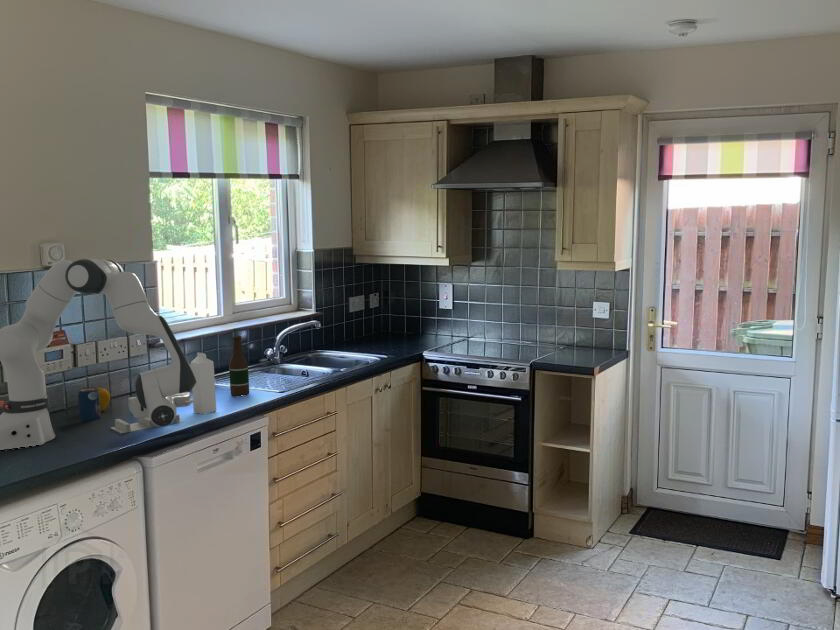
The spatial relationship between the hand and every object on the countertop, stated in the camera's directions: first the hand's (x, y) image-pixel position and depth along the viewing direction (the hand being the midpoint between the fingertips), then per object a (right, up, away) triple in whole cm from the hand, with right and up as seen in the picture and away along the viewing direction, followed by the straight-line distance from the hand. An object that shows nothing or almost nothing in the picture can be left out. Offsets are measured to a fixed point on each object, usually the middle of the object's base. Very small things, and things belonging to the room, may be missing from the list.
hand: (159, 396), depth 275 cm
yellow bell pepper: (-31, -8, +25) cm, 41 cm away
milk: (+11, -8, +20) cm, 24 cm away
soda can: (-27, -10, +9) cm, 31 cm away
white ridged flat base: (-3, -11, -2) cm, 11 cm away
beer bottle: (+17, -4, +47) cm, 50 cm away
